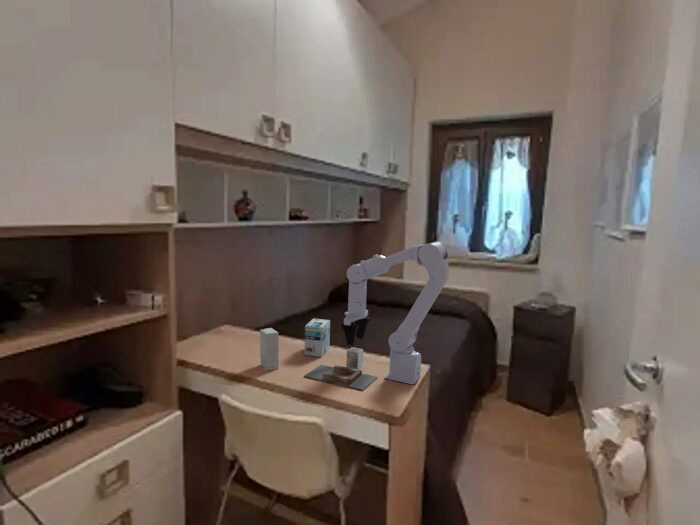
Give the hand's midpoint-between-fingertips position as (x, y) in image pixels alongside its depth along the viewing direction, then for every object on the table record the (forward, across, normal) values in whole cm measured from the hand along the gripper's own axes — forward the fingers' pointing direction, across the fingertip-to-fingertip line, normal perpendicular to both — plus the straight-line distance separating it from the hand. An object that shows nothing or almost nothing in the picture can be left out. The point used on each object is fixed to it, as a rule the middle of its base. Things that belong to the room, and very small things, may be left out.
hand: (355, 341), depth 148 cm
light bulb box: (+9, -7, -18) cm, 21 cm away
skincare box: (+9, +14, -24) cm, 29 cm away
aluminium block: (+9, 0, 0) cm, 9 cm away
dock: (+9, +10, 0) cm, 13 cm away
